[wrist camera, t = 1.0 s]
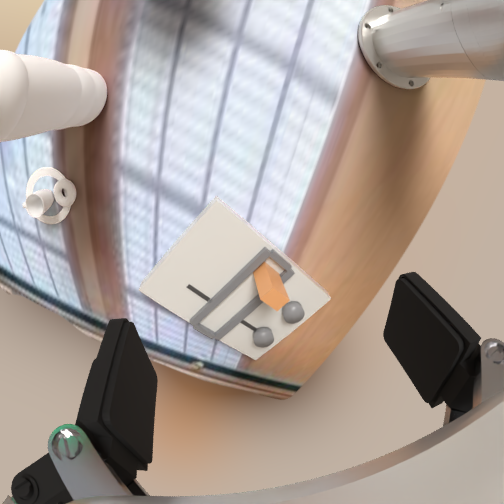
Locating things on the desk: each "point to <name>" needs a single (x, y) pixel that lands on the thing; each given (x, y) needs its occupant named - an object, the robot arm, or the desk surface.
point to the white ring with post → (49, 196)
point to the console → (231, 282)
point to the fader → (270, 286)
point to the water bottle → (46, 95)
